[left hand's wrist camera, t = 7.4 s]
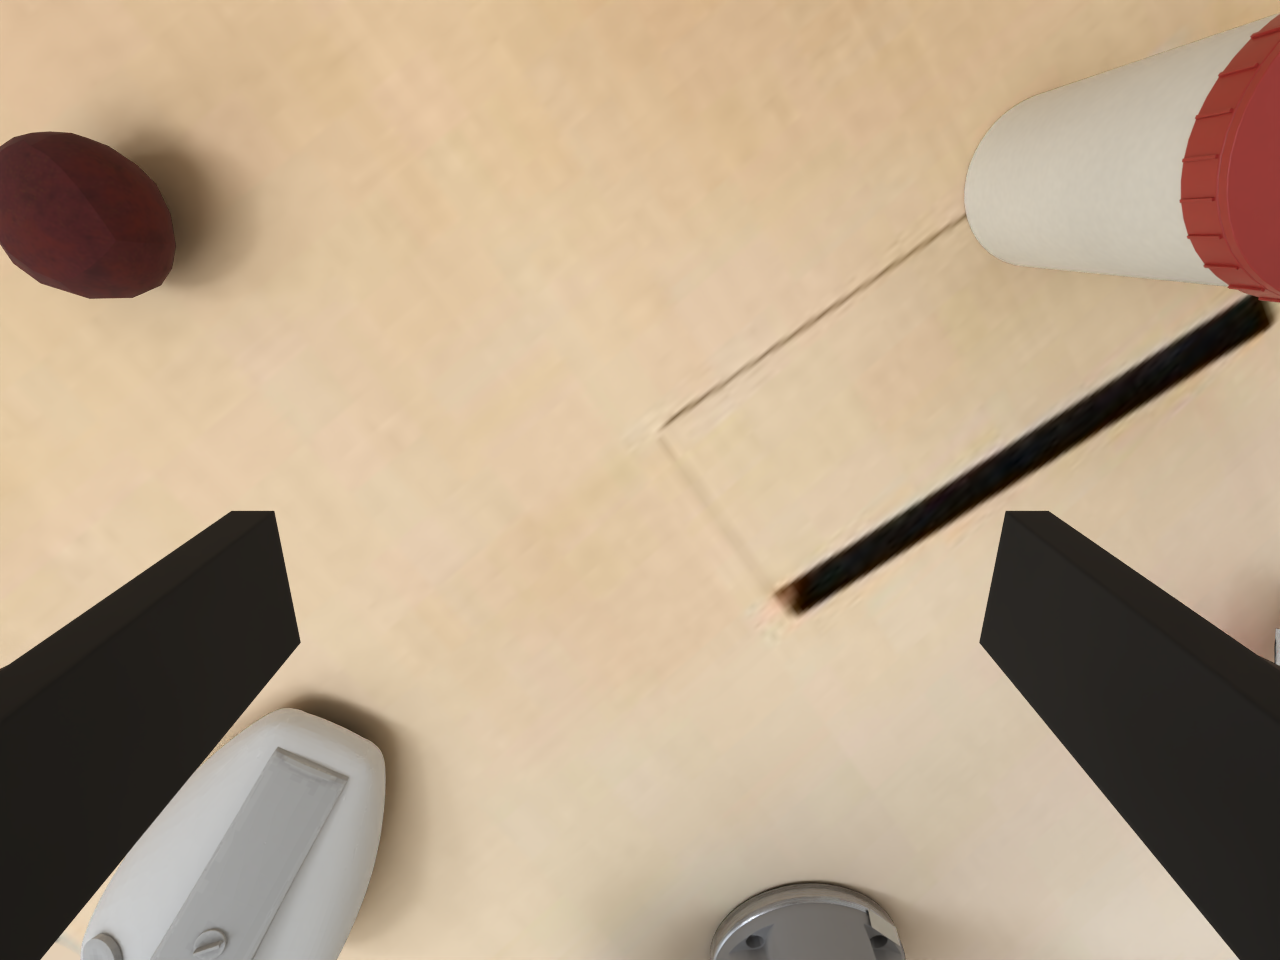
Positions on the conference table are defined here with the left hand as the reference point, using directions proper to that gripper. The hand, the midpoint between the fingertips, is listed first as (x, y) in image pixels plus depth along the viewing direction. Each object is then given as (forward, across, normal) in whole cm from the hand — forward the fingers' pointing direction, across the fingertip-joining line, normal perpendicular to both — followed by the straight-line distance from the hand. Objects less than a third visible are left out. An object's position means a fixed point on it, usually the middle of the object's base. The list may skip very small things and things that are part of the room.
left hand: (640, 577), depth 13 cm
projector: (+28, +27, +35) cm, 52 cm away
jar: (+28, -21, -8) cm, 36 cm away
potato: (+28, +27, -6) cm, 39 cm away
